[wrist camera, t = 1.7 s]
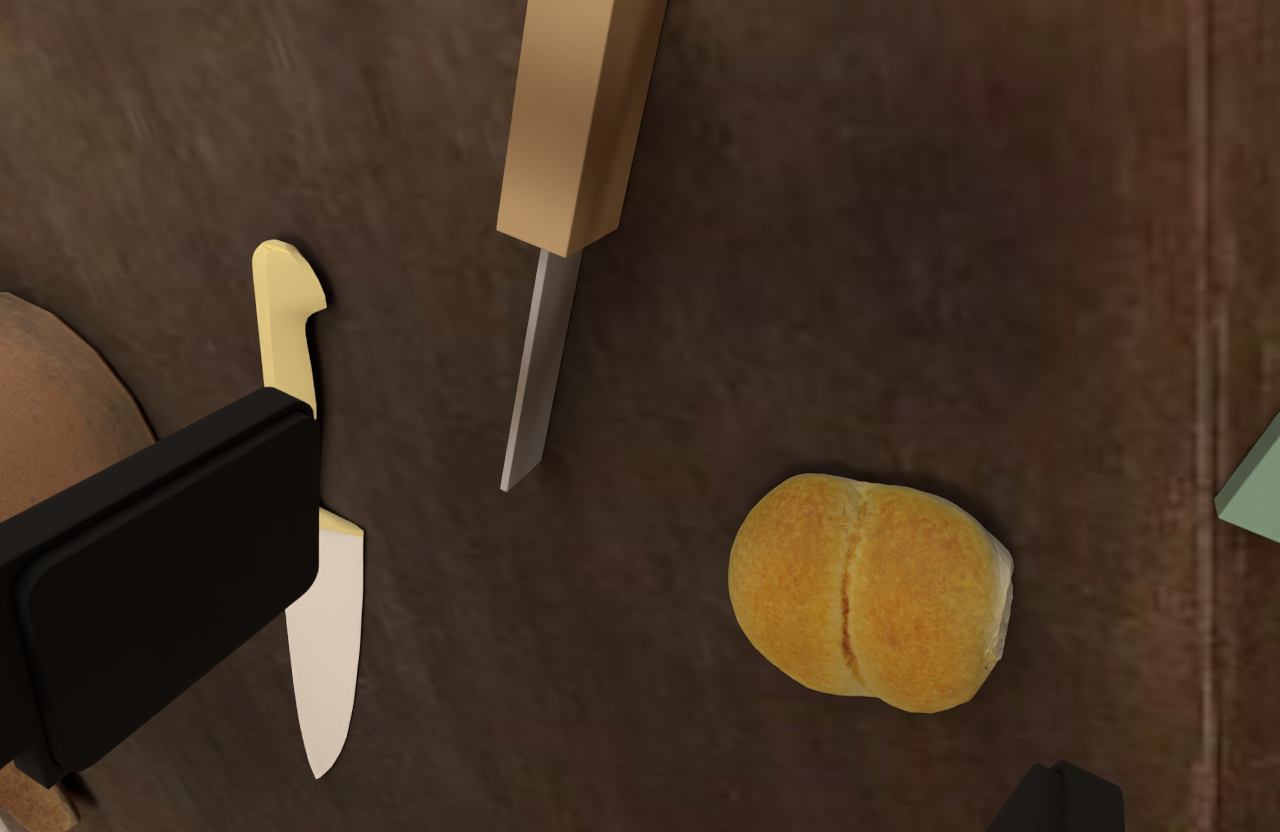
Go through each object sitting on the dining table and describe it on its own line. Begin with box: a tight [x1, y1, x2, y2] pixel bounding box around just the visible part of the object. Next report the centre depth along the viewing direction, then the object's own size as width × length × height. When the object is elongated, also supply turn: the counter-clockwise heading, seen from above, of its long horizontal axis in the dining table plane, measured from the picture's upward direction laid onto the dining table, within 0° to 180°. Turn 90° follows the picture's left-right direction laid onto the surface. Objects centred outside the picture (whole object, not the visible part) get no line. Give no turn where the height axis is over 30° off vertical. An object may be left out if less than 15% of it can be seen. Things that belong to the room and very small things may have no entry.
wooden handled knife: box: [497, 0, 667, 492], centre depth 27 cm, size 18×2×4 cm, turn 166°
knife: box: [252, 239, 364, 779], centre depth 42 cm, size 1×34×5 cm
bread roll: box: [728, 473, 1014, 713], centre depth 28 cm, size 8×9×4 cm
